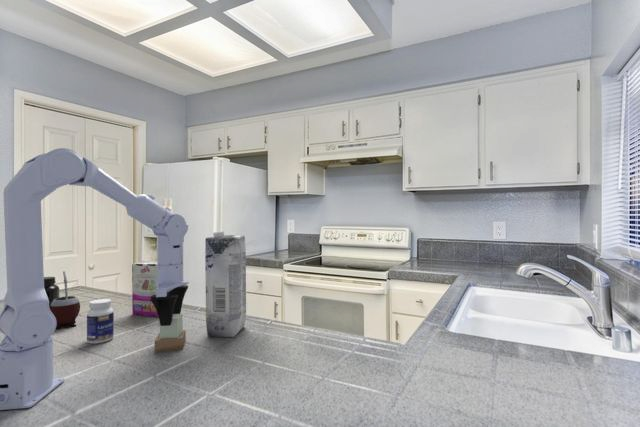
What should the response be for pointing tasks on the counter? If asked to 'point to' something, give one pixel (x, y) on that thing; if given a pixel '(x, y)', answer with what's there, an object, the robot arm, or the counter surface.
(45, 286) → the supplement bottle
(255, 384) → the counter surface
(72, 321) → the mate gourd
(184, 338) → the walnut block
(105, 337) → the pill bottle
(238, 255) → the juice carton
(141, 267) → the candy bar box
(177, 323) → the sage block
